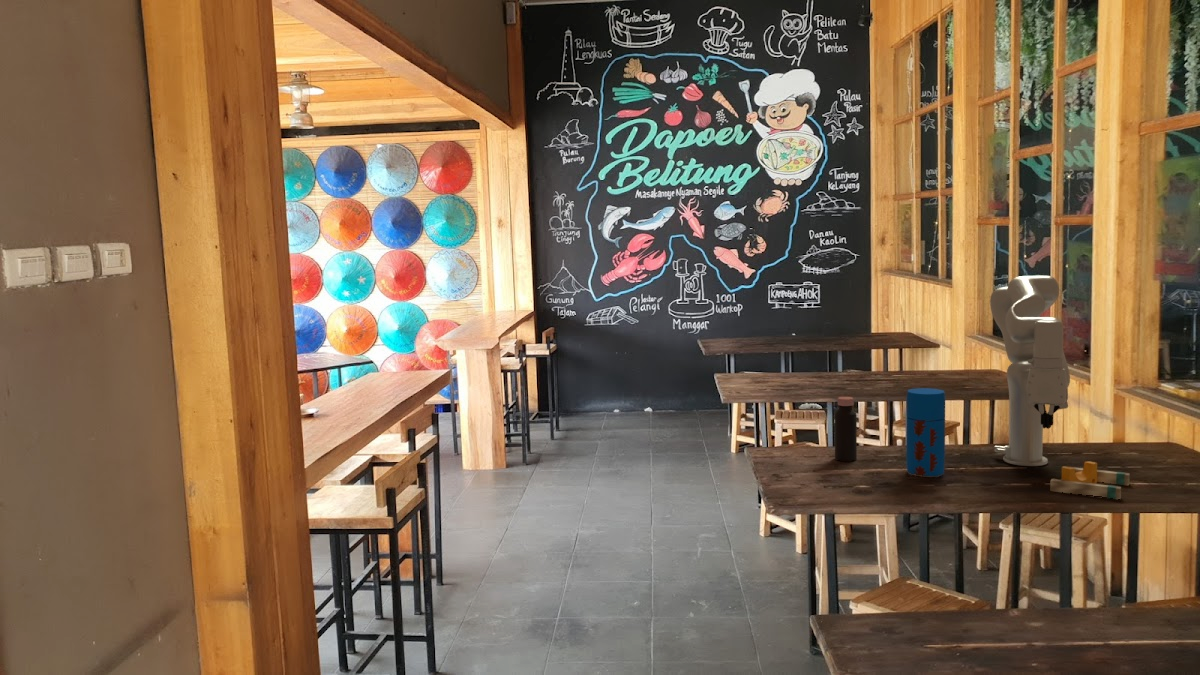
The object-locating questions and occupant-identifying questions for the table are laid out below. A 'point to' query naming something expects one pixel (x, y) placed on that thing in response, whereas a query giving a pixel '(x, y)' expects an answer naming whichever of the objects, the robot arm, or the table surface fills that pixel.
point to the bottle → (845, 430)
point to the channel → (1091, 488)
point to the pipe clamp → (1081, 473)
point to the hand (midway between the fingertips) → (1046, 427)
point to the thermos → (926, 431)
